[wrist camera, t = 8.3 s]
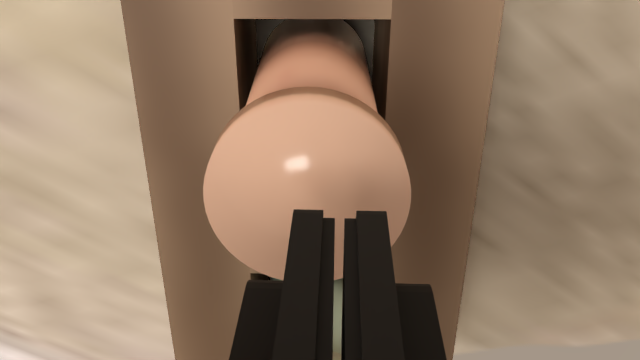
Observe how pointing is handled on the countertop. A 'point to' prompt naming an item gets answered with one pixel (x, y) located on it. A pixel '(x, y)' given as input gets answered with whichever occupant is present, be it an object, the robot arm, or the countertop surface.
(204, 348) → the socket block
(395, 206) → the peach peg
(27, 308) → the countertop surface
